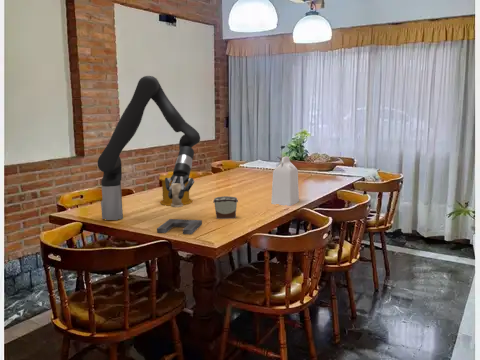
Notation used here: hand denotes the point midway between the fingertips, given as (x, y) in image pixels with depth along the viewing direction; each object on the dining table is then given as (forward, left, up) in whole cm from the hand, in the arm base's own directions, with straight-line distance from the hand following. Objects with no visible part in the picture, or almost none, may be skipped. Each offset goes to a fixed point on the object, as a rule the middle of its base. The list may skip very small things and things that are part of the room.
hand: (175, 198), depth 196 cm
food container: (+16, +28, -16) cm, 36 cm away
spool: (-20, +55, -16) cm, 60 cm away
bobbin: (0, +2, -4) cm, 5 cm away
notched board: (0, +5, -15) cm, 16 cm away
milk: (+42, +63, -16) cm, 77 cm away
